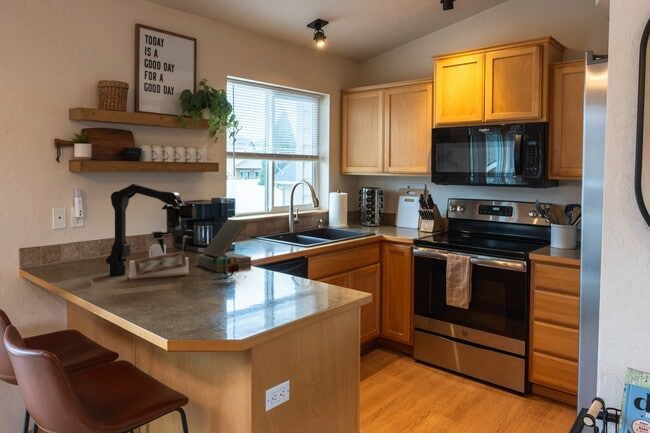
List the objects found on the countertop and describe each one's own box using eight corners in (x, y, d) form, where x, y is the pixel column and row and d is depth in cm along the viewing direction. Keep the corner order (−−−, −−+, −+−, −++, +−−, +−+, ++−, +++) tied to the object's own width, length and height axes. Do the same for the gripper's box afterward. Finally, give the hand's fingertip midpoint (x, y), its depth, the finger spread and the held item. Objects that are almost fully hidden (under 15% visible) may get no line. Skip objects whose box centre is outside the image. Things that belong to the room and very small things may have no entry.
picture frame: (137, 275, 214) (135, 260, 213) (136, 275, 215) (134, 260, 215) (186, 266, 225) (184, 251, 224) (185, 265, 227) (183, 251, 226)
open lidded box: (198, 266, 255) (198, 219, 254) (231, 263, 267) (231, 218, 265) (216, 272, 237) (216, 222, 235) (251, 268, 248) (251, 220, 247)
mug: (168, 267, 248) (168, 244, 248) (159, 269, 242) (159, 245, 242) (154, 266, 253) (153, 243, 252) (144, 268, 246) (144, 244, 246)
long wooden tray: (130, 279, 215) (130, 261, 214) (128, 277, 220) (128, 259, 220) (188, 274, 228) (188, 257, 228) (185, 272, 233) (185, 256, 233)
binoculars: (221, 274, 230) (221, 253, 229) (240, 275, 227) (240, 254, 226) (211, 277, 221) (211, 255, 221) (231, 278, 218) (231, 256, 218)
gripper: (155, 220, 210) (156, 256, 211) (197, 219, 220) (198, 253, 221) (150, 219, 220) (151, 253, 221) (191, 218, 229) (191, 250, 230)
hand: (173, 252), depth 223 cm, fingers open, 9 cm apart
